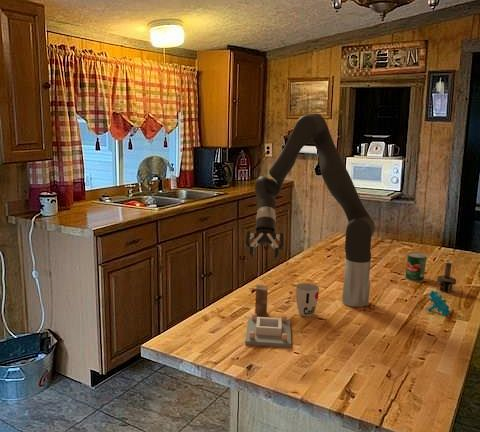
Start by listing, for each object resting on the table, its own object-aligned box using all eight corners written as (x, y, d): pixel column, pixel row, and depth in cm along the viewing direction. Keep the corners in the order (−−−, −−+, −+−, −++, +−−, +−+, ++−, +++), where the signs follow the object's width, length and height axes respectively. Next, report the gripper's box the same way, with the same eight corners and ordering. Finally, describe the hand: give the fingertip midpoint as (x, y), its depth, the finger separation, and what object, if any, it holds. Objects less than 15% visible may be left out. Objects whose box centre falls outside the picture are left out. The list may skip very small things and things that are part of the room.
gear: (444, 316, 175) (428, 291, 179) (431, 323, 178) (415, 299, 182) (456, 312, 183) (440, 288, 187) (443, 319, 186) (427, 296, 190)
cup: (303, 319, 172) (304, 292, 170) (290, 311, 179) (291, 284, 177) (322, 315, 176) (323, 289, 174) (308, 307, 183) (310, 281, 181)
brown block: (266, 312, 177) (267, 285, 175) (266, 316, 173) (267, 289, 171) (255, 311, 178) (256, 285, 176) (254, 316, 174) (256, 289, 172)
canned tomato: (404, 280, 217) (406, 255, 215) (405, 274, 224) (408, 251, 222) (423, 282, 214) (426, 258, 212) (424, 277, 221) (427, 253, 219)
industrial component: (454, 295, 200) (458, 266, 198) (435, 292, 203) (438, 264, 200) (454, 288, 209) (458, 260, 206) (436, 285, 211) (439, 258, 209)
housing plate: (289, 323, 169) (290, 312, 168) (291, 347, 151) (291, 336, 151) (248, 320, 170) (248, 310, 169) (245, 344, 152) (245, 333, 152)
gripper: (247, 214, 190) (244, 252, 182) (284, 216, 189) (283, 254, 181) (247, 225, 197) (244, 261, 188) (283, 227, 196) (282, 263, 187)
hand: (263, 257), depth 184 cm, fingers open, 8 cm apart
